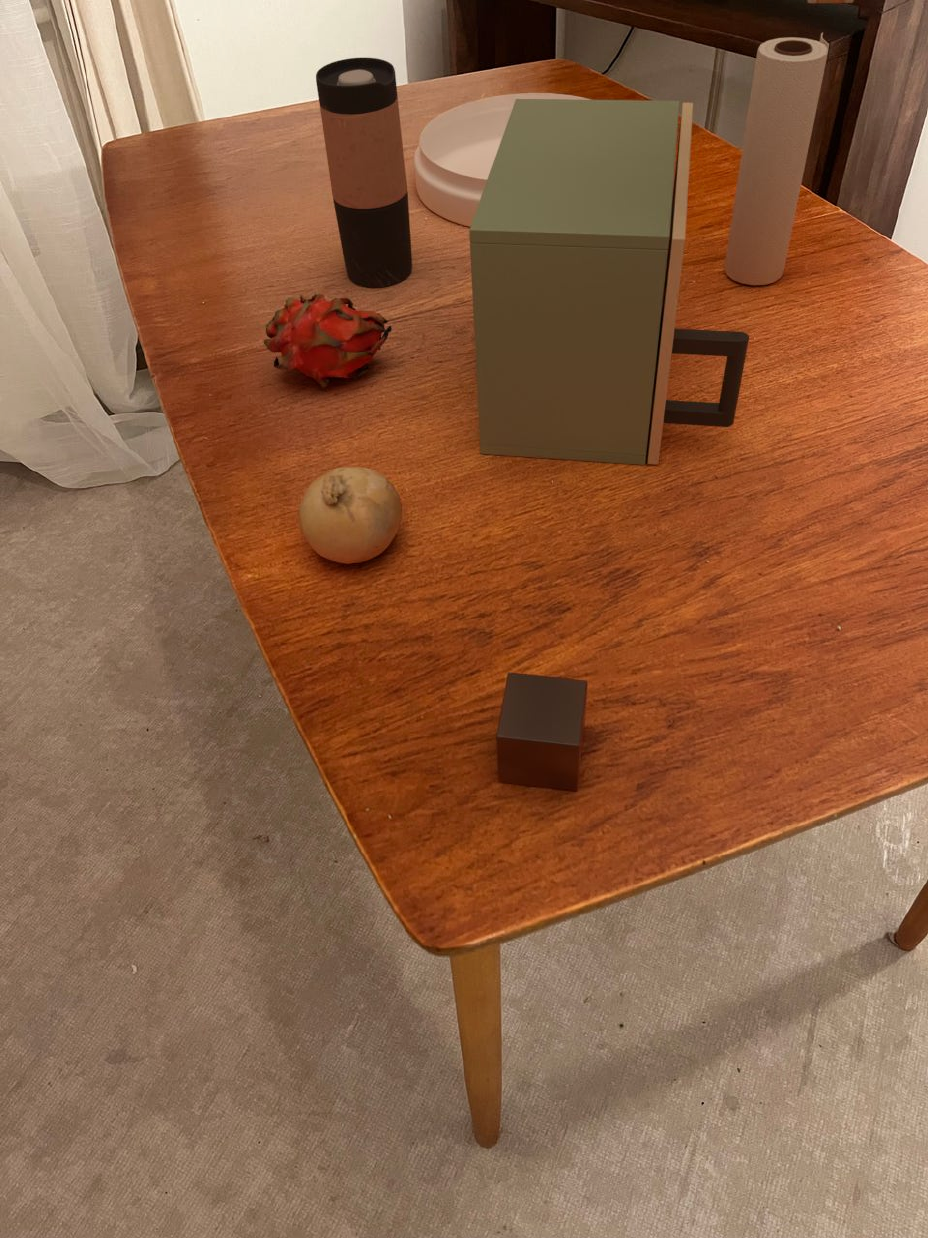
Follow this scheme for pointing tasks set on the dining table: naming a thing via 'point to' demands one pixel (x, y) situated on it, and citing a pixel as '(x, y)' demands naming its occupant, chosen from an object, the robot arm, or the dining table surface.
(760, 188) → the paper towel roll
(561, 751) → the block
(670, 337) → the cupboard door
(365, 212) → the travel mug
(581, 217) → the cupboard
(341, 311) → the dragon fruit
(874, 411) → the dining table surface
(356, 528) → the onion
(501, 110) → the plate
